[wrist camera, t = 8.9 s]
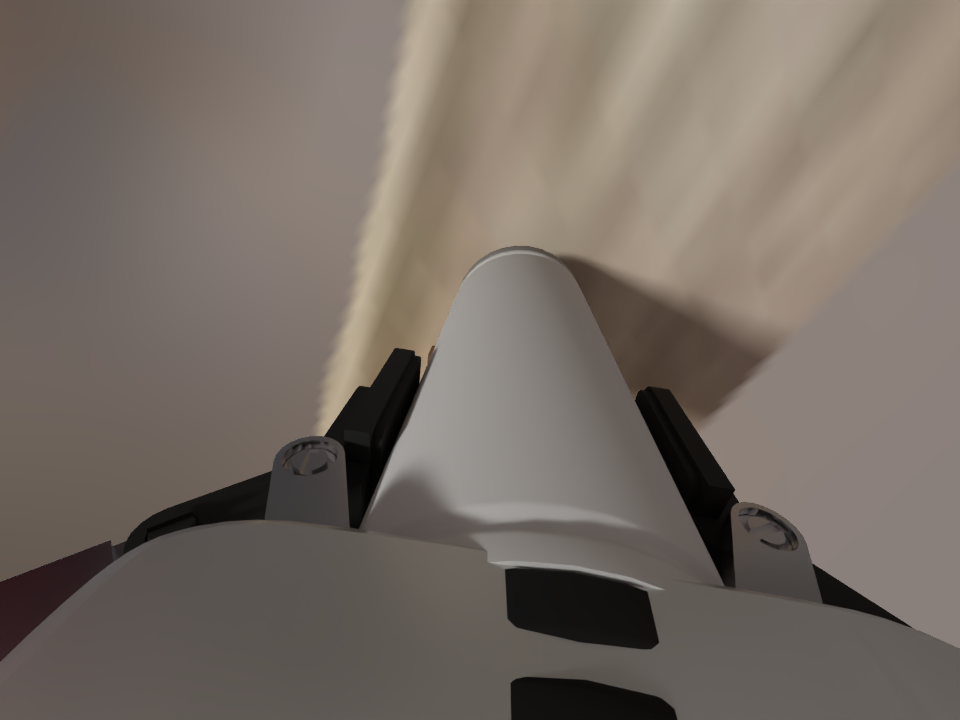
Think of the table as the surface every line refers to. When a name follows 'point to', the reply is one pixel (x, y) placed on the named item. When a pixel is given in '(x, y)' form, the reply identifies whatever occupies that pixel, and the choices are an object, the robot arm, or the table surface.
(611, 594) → the travel mug
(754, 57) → the table surface
